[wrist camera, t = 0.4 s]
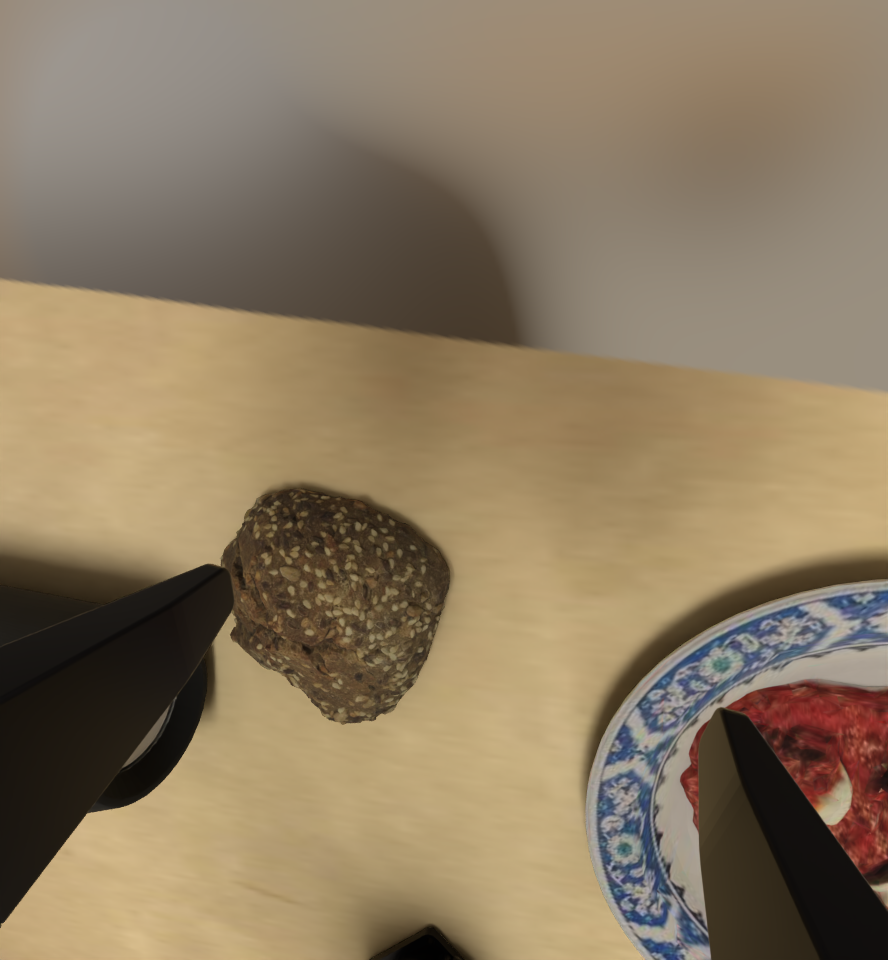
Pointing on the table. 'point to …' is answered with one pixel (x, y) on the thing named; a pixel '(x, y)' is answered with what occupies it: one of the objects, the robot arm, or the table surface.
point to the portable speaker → (26, 612)
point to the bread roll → (335, 599)
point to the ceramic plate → (784, 725)
